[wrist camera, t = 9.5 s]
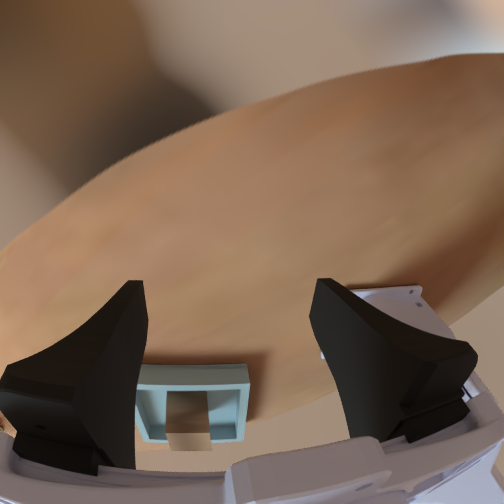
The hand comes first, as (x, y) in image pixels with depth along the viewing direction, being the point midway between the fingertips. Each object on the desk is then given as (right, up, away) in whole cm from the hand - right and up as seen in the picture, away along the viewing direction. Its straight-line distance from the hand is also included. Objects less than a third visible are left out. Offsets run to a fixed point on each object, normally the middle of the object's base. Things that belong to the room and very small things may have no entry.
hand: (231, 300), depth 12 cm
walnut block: (-6, -14, +16) cm, 22 cm away
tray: (-6, -14, +17) cm, 22 cm away
